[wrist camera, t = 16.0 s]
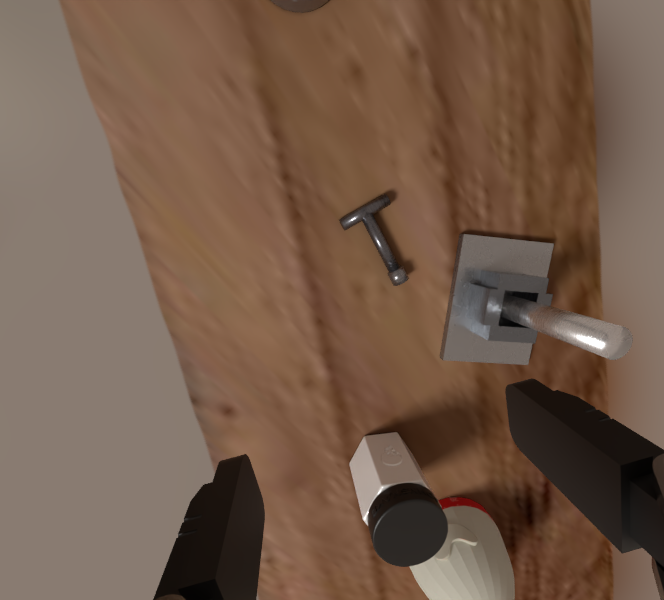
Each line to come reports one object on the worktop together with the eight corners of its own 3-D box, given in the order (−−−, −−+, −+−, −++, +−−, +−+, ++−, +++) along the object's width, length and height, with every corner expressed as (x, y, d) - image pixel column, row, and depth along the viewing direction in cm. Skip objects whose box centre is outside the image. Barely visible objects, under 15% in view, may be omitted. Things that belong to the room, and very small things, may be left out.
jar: (412, 427, 46) (453, 494, 34) (413, 480, 47) (452, 560, 36) (347, 435, 45) (366, 506, 33) (350, 488, 46) (369, 574, 35)
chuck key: (338, 219, 39) (340, 219, 37) (382, 194, 39) (387, 192, 37) (377, 292, 42) (381, 295, 40) (419, 268, 42) (425, 269, 40)
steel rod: (488, 291, 42) (605, 325, 27) (509, 293, 42) (636, 327, 27) (484, 313, 43) (597, 358, 27) (504, 314, 43) (627, 360, 27)
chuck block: (459, 234, 41) (482, 233, 36) (548, 243, 43) (580, 244, 38) (439, 357, 44) (457, 372, 39) (523, 362, 46) (550, 377, 41)
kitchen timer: (389, 521, 48) (432, 646, 34) (476, 481, 49) (554, 587, 34) (421, 590, 51) (473, 731, 37) (502, 551, 52) (585, 676, 37)
